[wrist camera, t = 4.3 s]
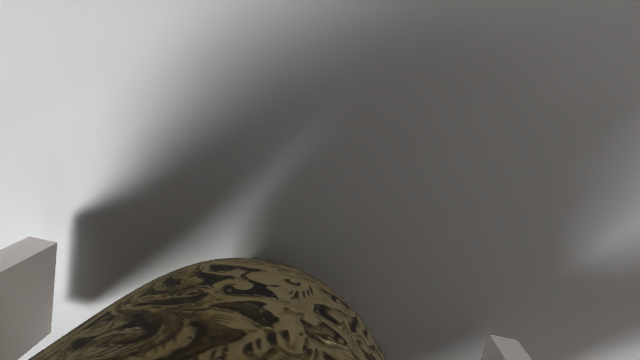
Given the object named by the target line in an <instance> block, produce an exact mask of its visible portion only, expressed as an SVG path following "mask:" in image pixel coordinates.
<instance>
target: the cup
mask: <svg viewBox="0 0 640 360" xmlns="http://www.w3.org/2000/svg"><path fill="white" fill-rule="evenodd" d="M29 360H387V359H386V357H385V355H384V353H383V351H382V349H381V347H380V345H379V344H378V342H377V341H376V339H375V338H374V336H373V334H372V333H371V331H370V330H369V328H368V327H367V325H366V324H365V323H364V321H363V320H362V319H361V317H360V316H359V315H358V314H357V312H356V311H355V310H354V309H353V308H352V307H351V306H350V305H349V304H348V303H347V302H346V301H345V300H344V299H343V298H342V297H341V296H340V295H338V294H337V293H336V292H335V291H333V290H332V289H331V288H329V287H328V286H327V285H325V284H324V283H322V282H320V281H319V280H317V279H316V278H314V277H312V276H310V275H308V274H306V273H304V272H302V271H300V270H298V269H295V268H293V267H290V266H287V265H284V264H280V263H277V262H273V261H268V260H261V259H254V258H225V259H215V260H209V261H204V262H199V263H196V264H193V265H189V266H186V267H183V268H180V269H178V270H175V271H172V272H170V273H168V274H165V275H163V276H161V277H158V278H156V279H154V280H153V281H151V282H149V283H147V284H145V285H143V286H141V287H140V288H138V289H136V290H134V291H133V292H131V293H129V294H127V295H126V296H124V297H122V298H121V299H119V300H118V301H116V302H114V303H113V304H111V305H110V306H108V307H106V308H105V309H103V310H102V311H100V312H99V313H97V314H96V315H94V316H93V317H91V318H90V319H88V320H87V321H85V322H84V323H82V324H81V325H79V326H78V327H76V328H75V329H73V330H72V331H70V332H69V333H67V334H66V335H64V336H63V337H61V338H60V339H58V340H57V341H55V342H54V343H52V344H51V345H49V346H48V347H46V348H45V349H43V350H42V351H40V352H39V353H38V354H36V355H35V356H33V357H32V358H30V359H29Z"/></svg>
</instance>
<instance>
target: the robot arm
mask: <svg viewBox="0 0 640 360" xmlns="http://www.w3.org/2000/svg"><path fill="white" fill-rule="evenodd" d="M56 251H57V243H56V242H52V241H47V240H42V239H38V238H33V237H28V238H26V239H23V240H21V241H19V242H17V243H15V244H12V245H10V246H8V247H6V248H4V249H2V250H0V360H18V359H19V358H20V357H21V356H23V355H24V354H25V353H26V352H28V351H29V350H30V349H31V348H32V347H34V346H35V345H36V344H37V343H38V342H40V341H41V340H42V339H43V338H45V337H46V336H47V335H48V334H49V333H51V321H52V307H53V293H54V279H55V265H56ZM481 360H532V359H531V358H530V357H529V355H528V354H527V353H526V351H525V350H524V348H523V347H522V346H521V344H520V343H519V342H518V340H515V339H510V338H505V337H501V336H496V335H491V334H489V337H488V340H487V343H486V346H485V349H484V352H483V356H482V359H481Z"/></svg>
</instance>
